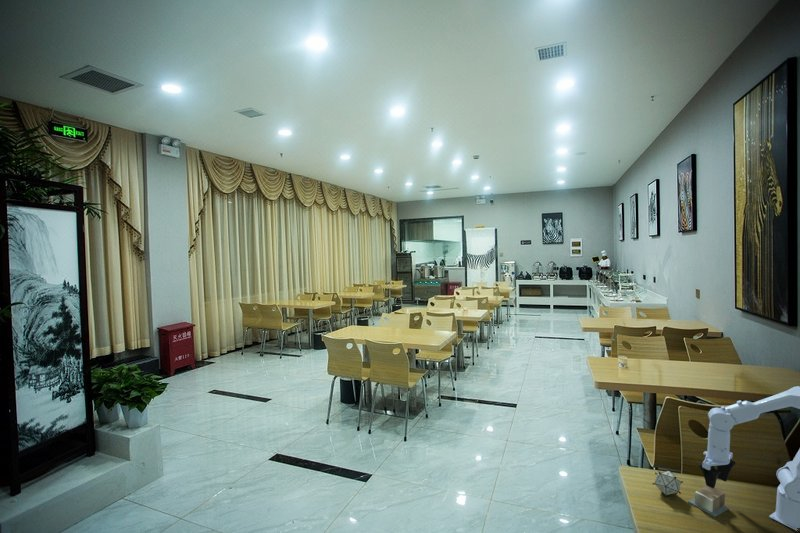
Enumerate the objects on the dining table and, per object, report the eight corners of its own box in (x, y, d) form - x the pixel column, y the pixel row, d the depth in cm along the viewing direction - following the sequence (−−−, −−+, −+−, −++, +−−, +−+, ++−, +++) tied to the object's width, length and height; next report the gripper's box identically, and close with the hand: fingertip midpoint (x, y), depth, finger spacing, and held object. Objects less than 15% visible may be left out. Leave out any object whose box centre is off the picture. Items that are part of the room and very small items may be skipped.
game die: (673, 506, 139) (692, 495, 133) (648, 495, 141) (665, 484, 134) (669, 481, 146) (686, 469, 140) (645, 471, 147) (661, 459, 141)
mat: (728, 509, 132) (728, 507, 132) (715, 517, 129) (715, 516, 129) (701, 494, 139) (701, 493, 139) (688, 502, 136) (688, 501, 136)
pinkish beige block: (725, 493, 134) (712, 500, 130) (724, 504, 134) (711, 512, 130) (708, 484, 138) (695, 491, 134) (707, 495, 138) (694, 503, 135)
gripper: (716, 434, 141) (714, 470, 142) (693, 444, 135) (691, 483, 136) (740, 443, 135) (738, 481, 136) (717, 455, 128) (715, 495, 130)
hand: (716, 483), depth 135 cm, fingers open, 7 cm apart
